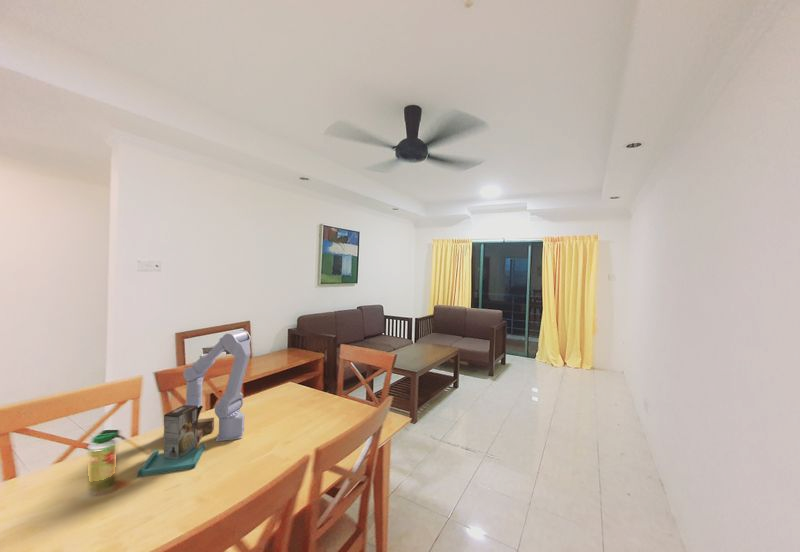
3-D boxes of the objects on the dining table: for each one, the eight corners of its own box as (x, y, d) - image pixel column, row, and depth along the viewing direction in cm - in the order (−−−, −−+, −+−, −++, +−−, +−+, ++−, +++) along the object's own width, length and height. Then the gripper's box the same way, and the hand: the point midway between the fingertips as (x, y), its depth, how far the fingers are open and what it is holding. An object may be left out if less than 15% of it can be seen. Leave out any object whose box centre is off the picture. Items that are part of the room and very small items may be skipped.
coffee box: (183, 444, 121) (184, 404, 121) (197, 445, 121) (198, 405, 121) (162, 458, 112) (163, 414, 112) (178, 459, 111) (179, 415, 111)
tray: (205, 448, 120) (205, 443, 120) (194, 468, 107) (194, 463, 107) (154, 454, 115) (154, 450, 114) (137, 477, 102) (137, 472, 102)
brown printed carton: (213, 429, 133) (214, 417, 133) (207, 441, 124) (207, 428, 124) (170, 434, 128) (170, 422, 128) (160, 447, 119) (160, 434, 119)
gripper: (189, 388, 137) (188, 418, 137) (177, 401, 124) (176, 434, 124) (207, 386, 140) (206, 416, 140) (197, 399, 126) (196, 432, 126)
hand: (193, 425), depth 132 cm, fingers closed
